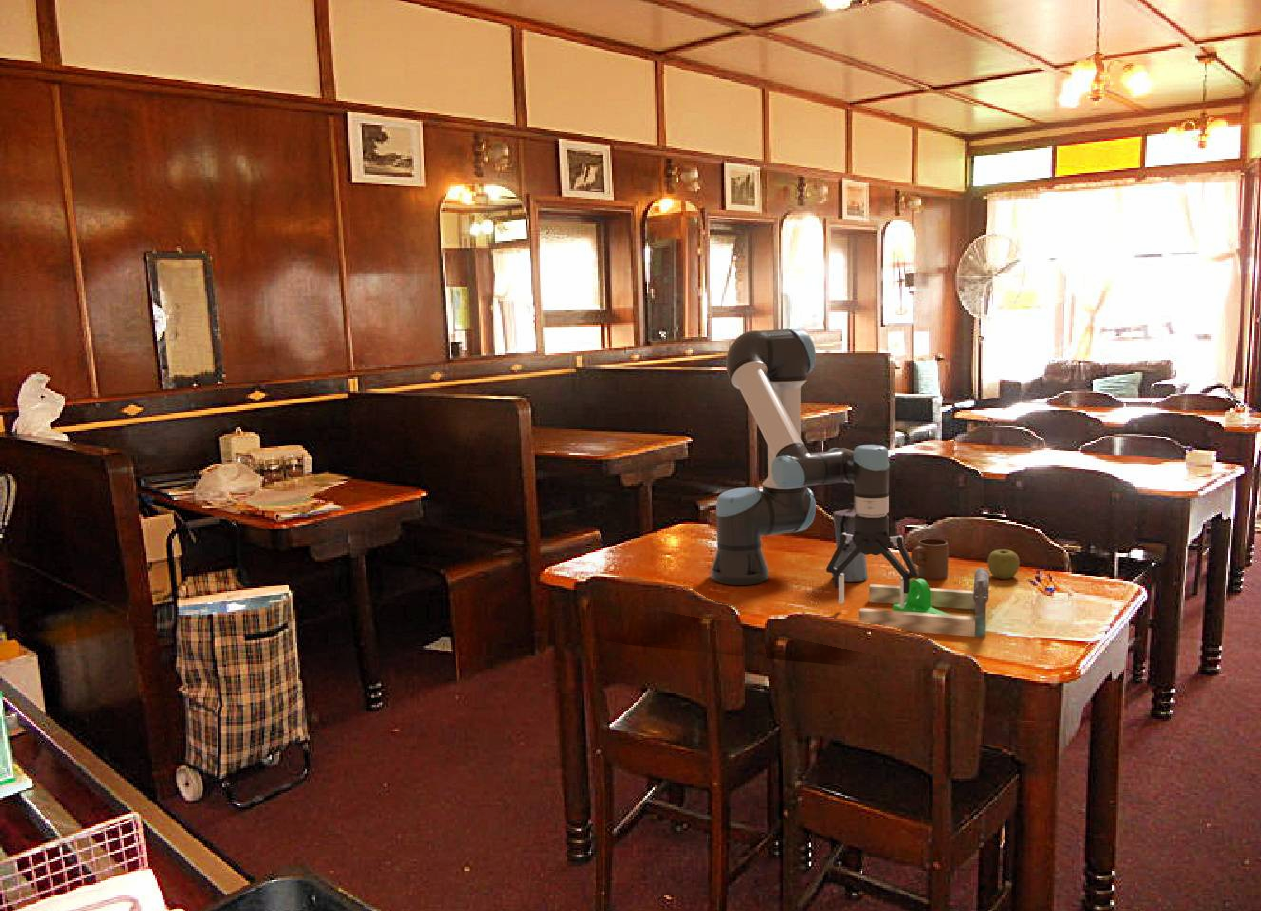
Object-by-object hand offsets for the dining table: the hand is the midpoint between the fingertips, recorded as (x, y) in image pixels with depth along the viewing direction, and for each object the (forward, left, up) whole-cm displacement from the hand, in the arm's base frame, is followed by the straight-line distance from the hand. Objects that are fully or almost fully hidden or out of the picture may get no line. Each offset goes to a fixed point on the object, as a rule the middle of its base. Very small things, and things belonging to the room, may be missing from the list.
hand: (871, 604), depth 214 cm
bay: (+10, 0, -2) cm, 11 cm away
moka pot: (-9, +27, -2) cm, 29 cm away
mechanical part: (+11, +1, -3) cm, 11 cm away
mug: (+10, +32, -3) cm, 34 cm away
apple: (+28, +37, -3) cm, 47 cm away
